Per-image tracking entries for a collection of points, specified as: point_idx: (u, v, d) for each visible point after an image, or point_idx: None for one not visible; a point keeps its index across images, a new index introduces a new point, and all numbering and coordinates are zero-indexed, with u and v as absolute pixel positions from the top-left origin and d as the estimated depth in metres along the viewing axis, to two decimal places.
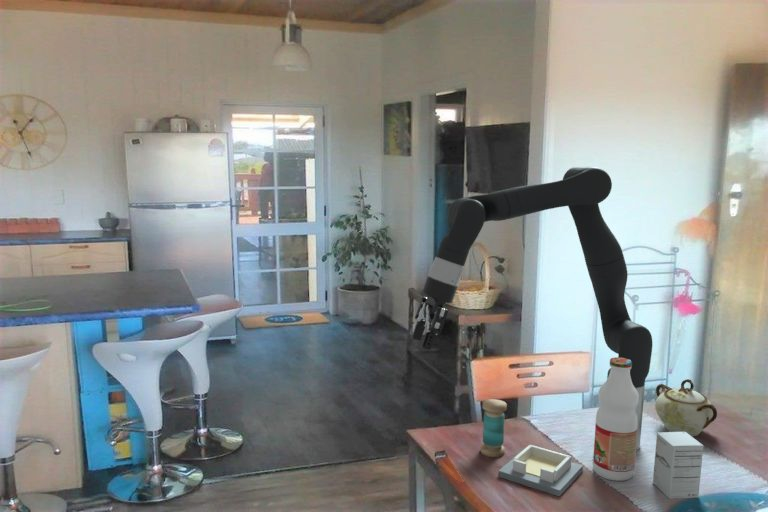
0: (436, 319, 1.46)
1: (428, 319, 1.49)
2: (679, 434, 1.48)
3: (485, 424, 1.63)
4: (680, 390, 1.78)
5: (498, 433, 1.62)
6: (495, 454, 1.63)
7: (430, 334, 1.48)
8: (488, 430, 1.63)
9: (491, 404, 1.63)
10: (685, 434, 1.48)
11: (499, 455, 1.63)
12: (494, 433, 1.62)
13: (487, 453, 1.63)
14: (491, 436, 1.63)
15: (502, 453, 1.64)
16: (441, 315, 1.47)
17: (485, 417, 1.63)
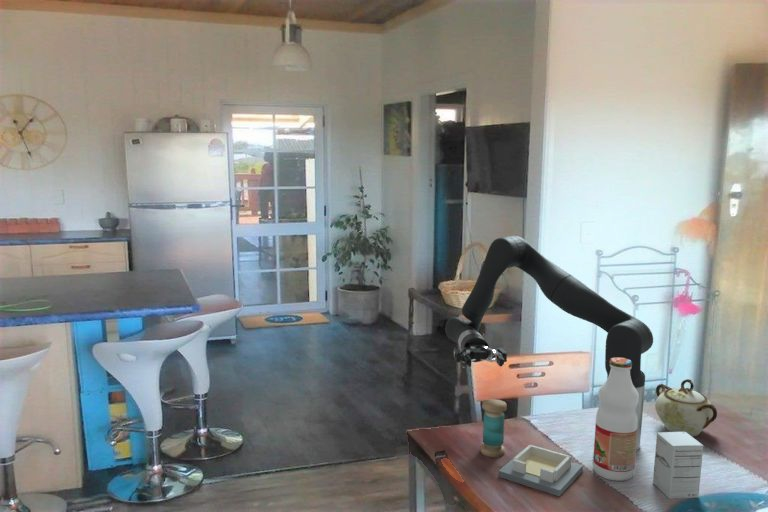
0: (454, 357, 1.80)
1: None
2: (679, 434, 1.48)
3: (485, 424, 1.63)
4: (680, 390, 1.79)
5: (498, 433, 1.62)
6: (495, 454, 1.63)
7: (463, 360, 1.77)
8: (488, 430, 1.63)
9: (491, 404, 1.63)
10: (685, 434, 1.48)
11: (499, 455, 1.63)
12: (494, 433, 1.62)
13: (487, 453, 1.63)
14: (491, 436, 1.63)
15: (502, 453, 1.64)
16: (454, 353, 1.82)
17: (485, 417, 1.63)
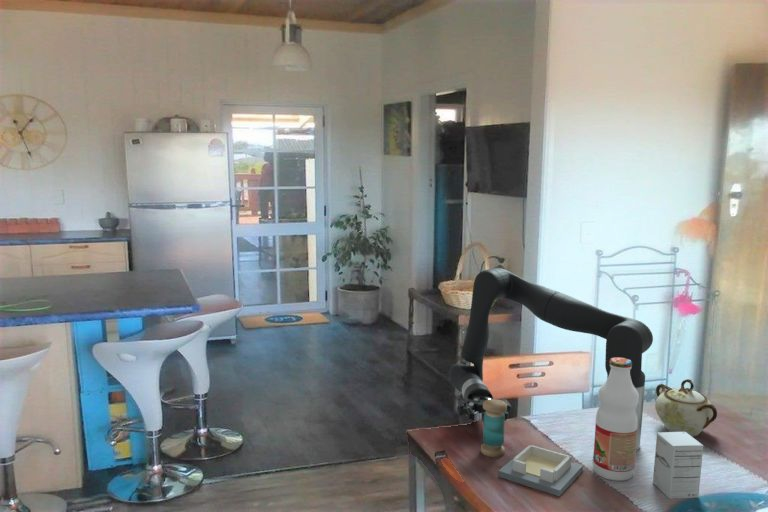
0: (457, 409, 1.77)
1: None
2: (679, 434, 1.48)
3: (485, 424, 1.63)
4: (680, 390, 1.78)
5: (498, 433, 1.62)
6: (495, 454, 1.63)
7: (466, 413, 1.73)
8: (488, 430, 1.63)
9: (491, 404, 1.63)
10: (685, 434, 1.48)
11: (499, 455, 1.63)
12: (494, 433, 1.62)
13: (487, 453, 1.63)
14: (491, 436, 1.63)
15: (502, 453, 1.64)
16: (457, 405, 1.78)
17: (485, 417, 1.63)
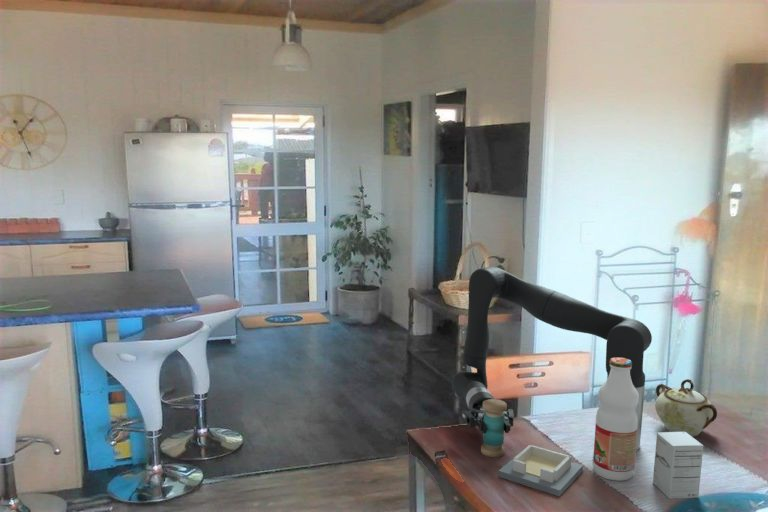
0: (465, 421, 1.69)
1: None
2: (679, 434, 1.48)
3: None
4: (680, 390, 1.78)
5: (498, 433, 1.62)
6: (495, 454, 1.63)
7: (477, 425, 1.65)
8: (488, 430, 1.63)
9: (491, 404, 1.63)
10: (685, 434, 1.48)
11: (499, 455, 1.63)
12: (494, 433, 1.62)
13: (487, 453, 1.63)
14: (491, 436, 1.63)
15: (502, 453, 1.64)
16: (464, 416, 1.70)
17: (485, 417, 1.63)
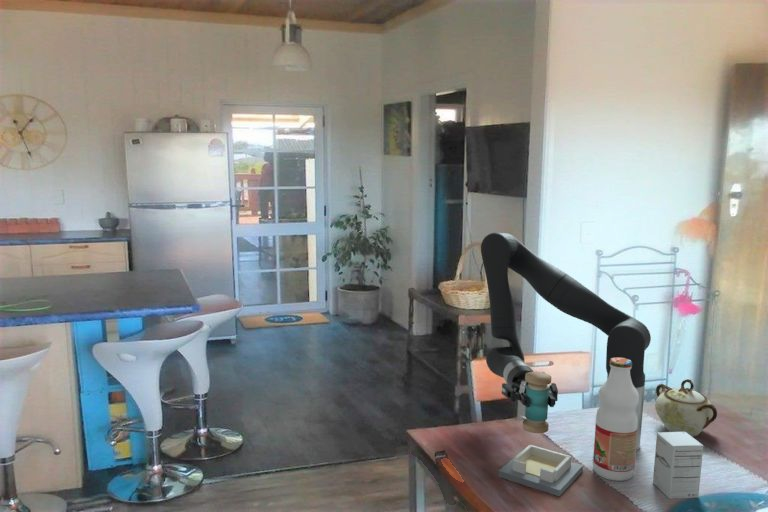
0: (506, 395, 1.58)
1: None
2: (679, 434, 1.48)
3: None
4: (680, 390, 1.78)
5: (542, 407, 1.51)
6: (539, 430, 1.52)
7: (519, 399, 1.54)
8: (531, 404, 1.52)
9: (535, 376, 1.52)
10: (685, 434, 1.48)
11: (543, 431, 1.52)
12: (538, 407, 1.51)
13: (530, 429, 1.52)
14: (535, 410, 1.51)
15: (546, 429, 1.52)
16: (504, 390, 1.59)
17: (528, 390, 1.52)
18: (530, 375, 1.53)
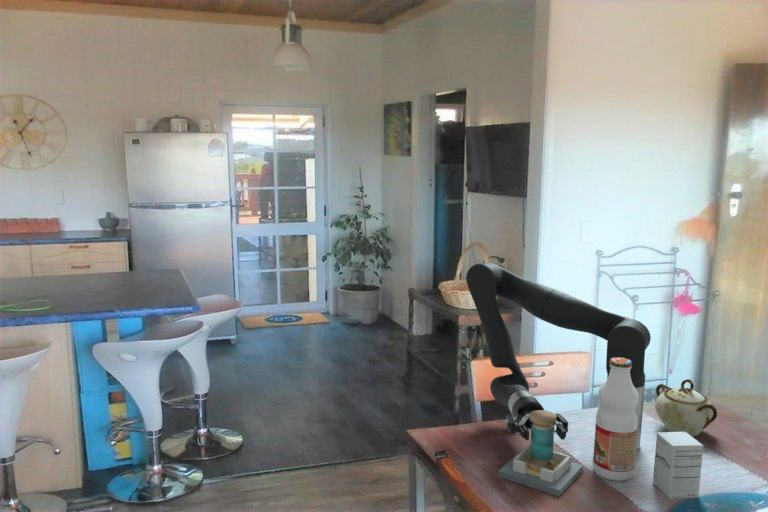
0: (507, 426, 1.58)
1: None
2: (679, 434, 1.48)
3: (533, 437, 1.52)
4: (680, 390, 1.78)
5: (548, 447, 1.51)
6: None
7: (518, 431, 1.54)
8: (537, 444, 1.51)
9: (540, 416, 1.52)
10: (685, 434, 1.48)
11: None
12: (544, 447, 1.51)
13: (536, 468, 1.52)
14: (540, 450, 1.51)
15: (552, 468, 1.52)
16: (507, 421, 1.59)
17: (533, 430, 1.52)
18: (535, 414, 1.52)
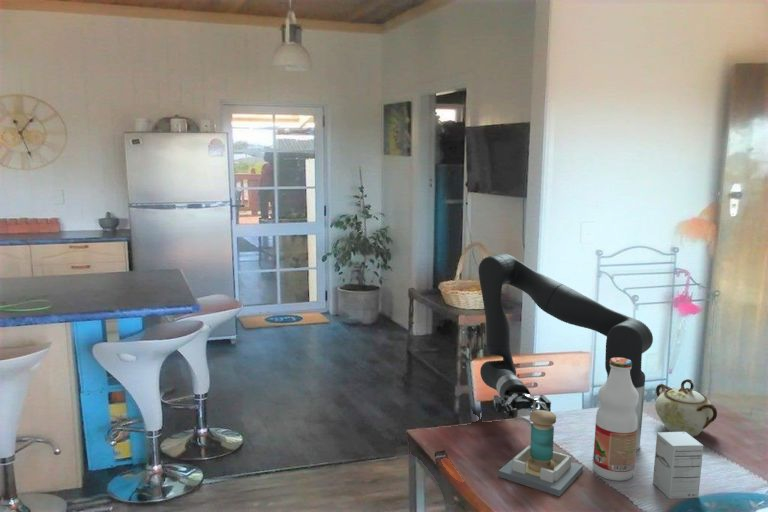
0: (495, 406, 1.71)
1: None
2: (679, 434, 1.48)
3: (533, 437, 1.52)
4: (680, 390, 1.79)
5: (548, 446, 1.51)
6: None
7: (504, 410, 1.67)
8: (537, 444, 1.51)
9: (539, 416, 1.52)
10: (685, 434, 1.48)
11: None
12: (544, 447, 1.51)
13: (536, 468, 1.52)
14: (540, 450, 1.51)
15: (552, 468, 1.52)
16: (494, 401, 1.72)
17: (533, 430, 1.52)
18: (535, 414, 1.52)
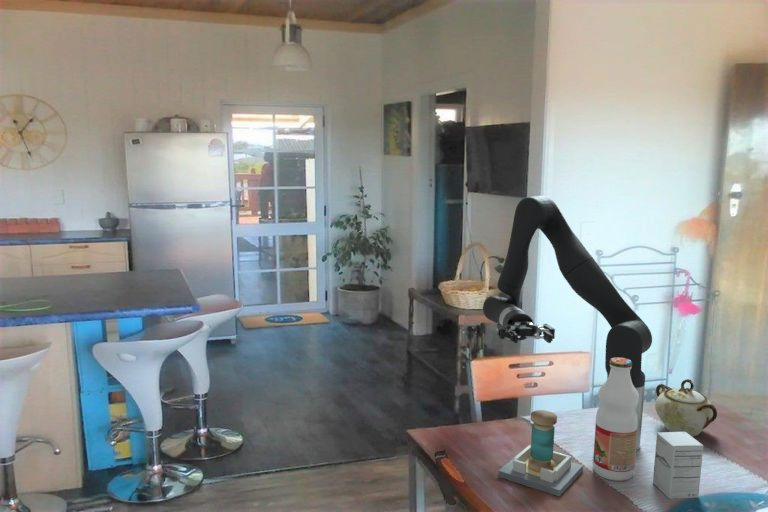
0: (498, 334, 1.68)
1: None
2: (679, 434, 1.48)
3: (534, 438, 1.52)
4: (680, 390, 1.79)
5: (548, 447, 1.51)
6: None
7: (508, 336, 1.64)
8: (538, 444, 1.51)
9: (540, 416, 1.51)
10: (685, 434, 1.48)
11: None
12: (545, 447, 1.51)
13: (537, 469, 1.52)
14: (541, 450, 1.51)
15: (552, 468, 1.52)
16: (497, 329, 1.69)
17: (534, 430, 1.51)
18: (536, 415, 1.52)
